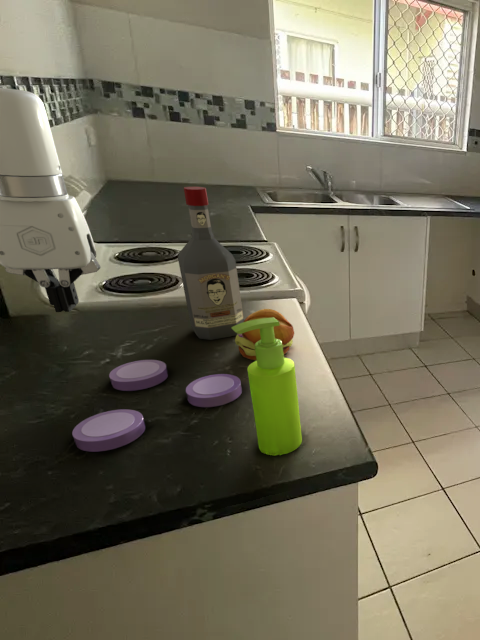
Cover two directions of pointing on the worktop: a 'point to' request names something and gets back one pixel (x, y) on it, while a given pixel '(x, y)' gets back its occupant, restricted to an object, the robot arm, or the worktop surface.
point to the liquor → (208, 275)
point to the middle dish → (213, 390)
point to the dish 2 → (138, 375)
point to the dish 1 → (108, 430)
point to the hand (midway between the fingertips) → (66, 308)
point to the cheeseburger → (251, 337)
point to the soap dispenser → (273, 391)
